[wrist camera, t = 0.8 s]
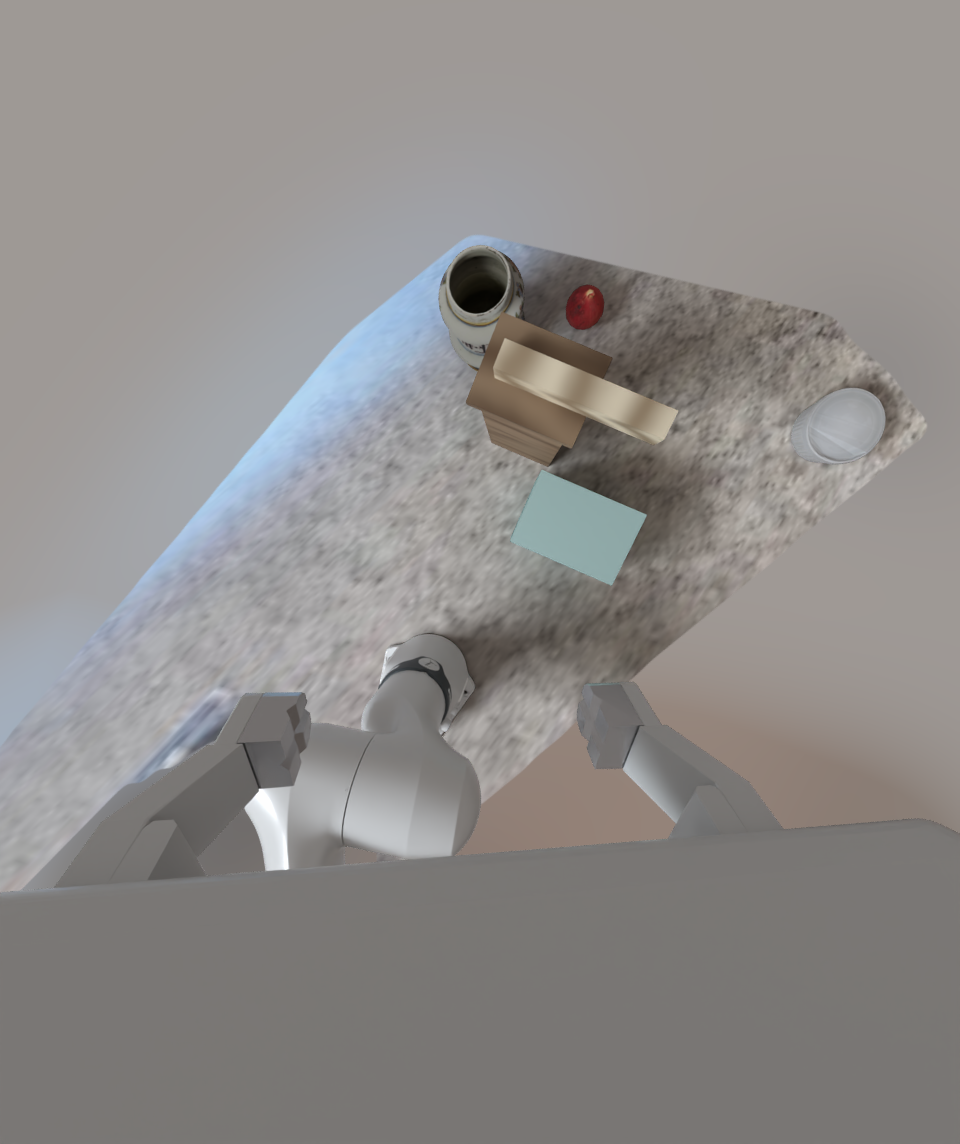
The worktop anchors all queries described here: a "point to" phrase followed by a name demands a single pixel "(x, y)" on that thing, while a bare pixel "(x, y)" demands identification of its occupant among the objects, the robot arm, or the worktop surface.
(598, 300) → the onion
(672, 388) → the worktop surface
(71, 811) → the worktop surface
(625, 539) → the low block
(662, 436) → the rod
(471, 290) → the apothecary jar
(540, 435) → the tall stand
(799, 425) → the ramekin
